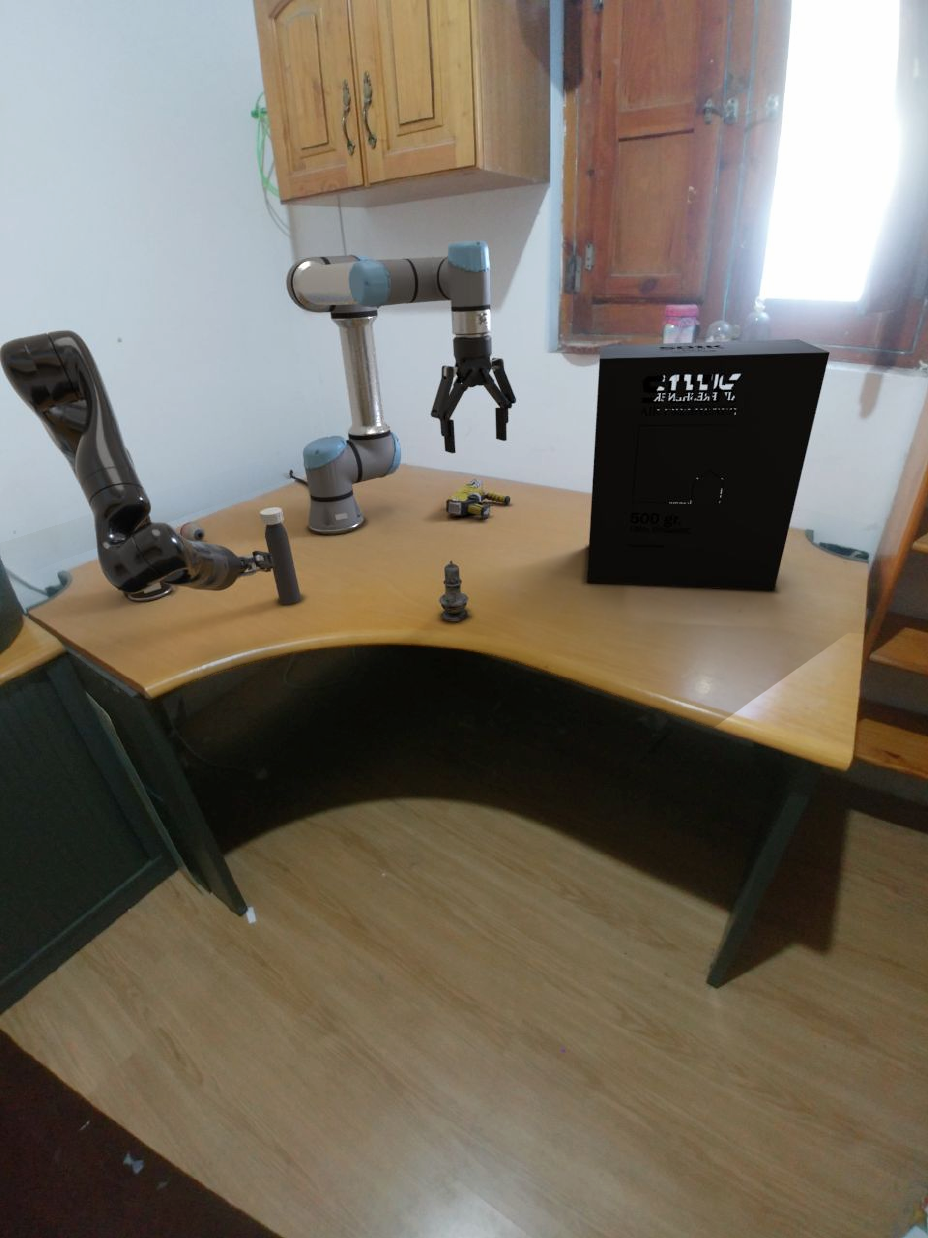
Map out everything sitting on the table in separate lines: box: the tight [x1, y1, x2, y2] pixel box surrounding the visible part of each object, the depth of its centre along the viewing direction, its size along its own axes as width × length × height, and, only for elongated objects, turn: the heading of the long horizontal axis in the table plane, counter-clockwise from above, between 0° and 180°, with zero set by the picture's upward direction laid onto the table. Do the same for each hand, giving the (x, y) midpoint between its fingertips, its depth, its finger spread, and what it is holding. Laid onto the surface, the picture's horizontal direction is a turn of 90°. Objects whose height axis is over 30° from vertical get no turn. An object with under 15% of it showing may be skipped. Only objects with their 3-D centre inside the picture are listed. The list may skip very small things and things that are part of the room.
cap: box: [259, 506, 285, 526], centre depth 122 cm, size 4×4×2 cm
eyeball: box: [179, 521, 206, 542], centre depth 161 cm, size 6×6×6 cm
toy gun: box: [445, 478, 511, 520], centre depth 176 cm, size 5×24×15 cm
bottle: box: [264, 522, 302, 606], centre depth 126 cm, size 4×4×20 cm
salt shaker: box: [438, 560, 469, 622], centre depth 119 cm, size 6×6×12 cm
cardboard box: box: [586, 338, 831, 592], centre depth 124 cm, size 38×20×45 cm, turn 78°
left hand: (246, 572), depth 112 cm, fingers open, 8 cm apart
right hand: (476, 445), depth 127 cm, fingers open, 13 cm apart
